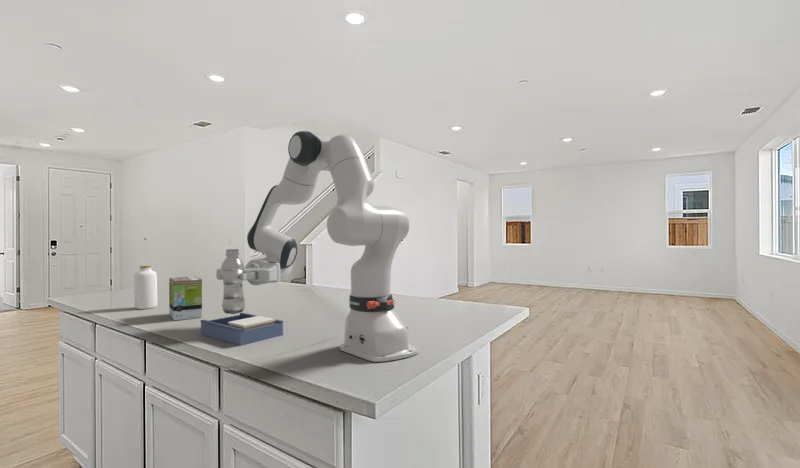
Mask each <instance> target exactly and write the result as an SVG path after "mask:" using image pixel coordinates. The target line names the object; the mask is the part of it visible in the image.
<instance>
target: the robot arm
mask: <svg viewBox="0 0 800 468" xmlns="http://www.w3.org/2000/svg"><path fill="white" fill-rule="evenodd" d="M287 146H288V147H287V151H288V155H289V159H288V161H287V163H286V166H285V169H284V172H283V175H282V178H281V180H280V182H279V183H278V184H277V185H276V184H275V185H274V186H272V187H271V188H270V190H269V191H268V193H267V195H266V197H265V199H264V200H263V204H262V205H261V207H260V210H259V212H258V214H257V217H256V219H255V221H254V223H253V225H252V226H251V227H250V229H249V231H248V233H247V236H246V238H247V239H246V241H247V245H248V247H249V248H250V250H253V251H256V252H258V253H261V254H263V255H264V256H265V257H264V258H255V259H251V260H249V261H248V262H247V263H246V264H245V266H244V269H243V274H240V275H239V276H240V277H239V279H240V280H243V281H247V282H248V283H249V284H250V285H253V286H261V285H266V284H270V283H275V284H276V283H279V282H281V280H284V279H285V278H287V277H288V276H289V275H290V274H291V273H292V271H293V264H294V262H295V261H296V259H297V254H298V244H297V241H296V239H294V238H293V237H291V236H288V235H286V234H285V233H282V232H280V231H278V230H277V229H275V228H274V227H273V226H272V222H273V220H274V218H275V216H276V213H277V211H278V210H279V207H280V206H281V205H291V206H292V205H301V204H304V203H306V202H307V201H309V200H310V199H311V198H312V196H313V195H314V191H315V188H316V185H317V182H318V177H319V174H320V172H321V171H327V172H328V171H329V173H330V175H331V178H332V181H333V183H334V187H335V191H336V194H337V195H336V196H337V203H336V206H335V207H334V208H333V209H332V210H331V212H330V213H329V215H328V218H327V221H326V230H327V233H328V236H329V237H330V239H331V241H333V242H334V243H336V244H340V245H344V246H351V247H356V246H364V250H363V254H361V256H360V258H358V260H356V261H355V262H354V263H353V264H352V266H351V269H350V295H349V299H348V303H349V305H348V306H349V309H350V311H349V313H348V315H347V316H346V317H345V322H344V336H343V337H344V339H343V341H344V342H343V343H342V344H340V345H339V351H342V352H345V353H347V354H350V355H352V356H356V357H359V358H361V359H363V360H366V361H370V362H376V363H377V362H389V361H390V362H391V361H396V360H401V359H404V358H409V357H412V356H415V355H417V354H418V353H419V349H418V348H417V347H416V346H415V345H413V344H411V343H410V341H409V339H410V338H409V326H408V324H406V323H405V324H404V322H403V320H402V319H401V318H400V316H399V315H398V314H397V312H396V311H395V305H396V303H395V301H396V300H395V299H394V298H393V294H392V293H391V279H392V278H391V276H392V275H391V273H392V264H393V260H394V257H395V254H396V252H397V249H398V247H399V245H400V244H401V243H402V242H403V241H404V240H405V239H406V238H407V236H408V234H409V231H410V219H409V217H408V215H407V214H406V212H404V211H403V210H402V209H398V208H396V207H395V208H394V207H392V206H383V205H379V206H377V205H371V204H370V203H369V202H368V197H370V196H371V195H372V192H373V191H374V187H375V181H374V179H373V176H372V172H371V170H370V167H369V165H368V163H367V160H366V157H365V156H364V154H363V151H362V150H361V148H360V146H359V145H358V143H357V142H356V141H355V139H354V138H353V137H352V136H350V135H347V134H338V135H334V136H329V135H328V134H324V133H319V132H318V133H317V132H311V131H307V130H303V131H302V130H300V131H296V132H295V133H294V134H293V135H292V137H290V139H289V143H288V145H287ZM215 273H216V274H215V275H216V280H219V281H223V276H222V270H221V267H220V268H217V269H216V272H215Z"/></svg>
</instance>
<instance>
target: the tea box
mask: <svg viewBox="0 0 800 468" xmlns="http://www.w3.org/2000/svg"><path fill="white" fill-rule="evenodd" d="M168 282H169V283H168V284H169V285H168V286H169V287H168V290H169V293H168V294H169V295H168V296H169V298H168V299H169V301H168V303H169V308H168V309H169V315H170V317H171V319H172V320H173V321H182V320H183V321H184V320H190V319H192V320H193V319H199V318H202V317H203V279H202V278H200V277H198V276H178V277H177V276H176V277H169V281H168Z"/></svg>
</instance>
